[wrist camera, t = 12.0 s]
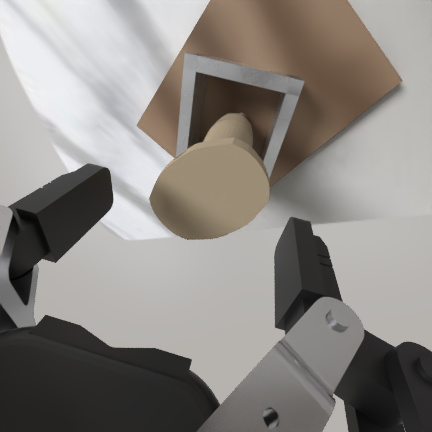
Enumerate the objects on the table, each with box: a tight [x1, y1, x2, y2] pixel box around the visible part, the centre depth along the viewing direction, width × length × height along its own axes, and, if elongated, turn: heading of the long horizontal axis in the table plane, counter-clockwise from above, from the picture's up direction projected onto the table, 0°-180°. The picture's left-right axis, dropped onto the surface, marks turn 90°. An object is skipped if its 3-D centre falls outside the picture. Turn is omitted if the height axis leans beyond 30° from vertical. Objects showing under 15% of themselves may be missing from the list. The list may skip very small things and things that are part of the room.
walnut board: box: [137, 0, 403, 187], centre depth 23 cm, size 20×16×1 cm
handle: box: [149, 112, 270, 240], centre depth 18 cm, size 5×6×15 cm
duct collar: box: [176, 53, 305, 178], centre depth 21 cm, size 10×9×5 cm
